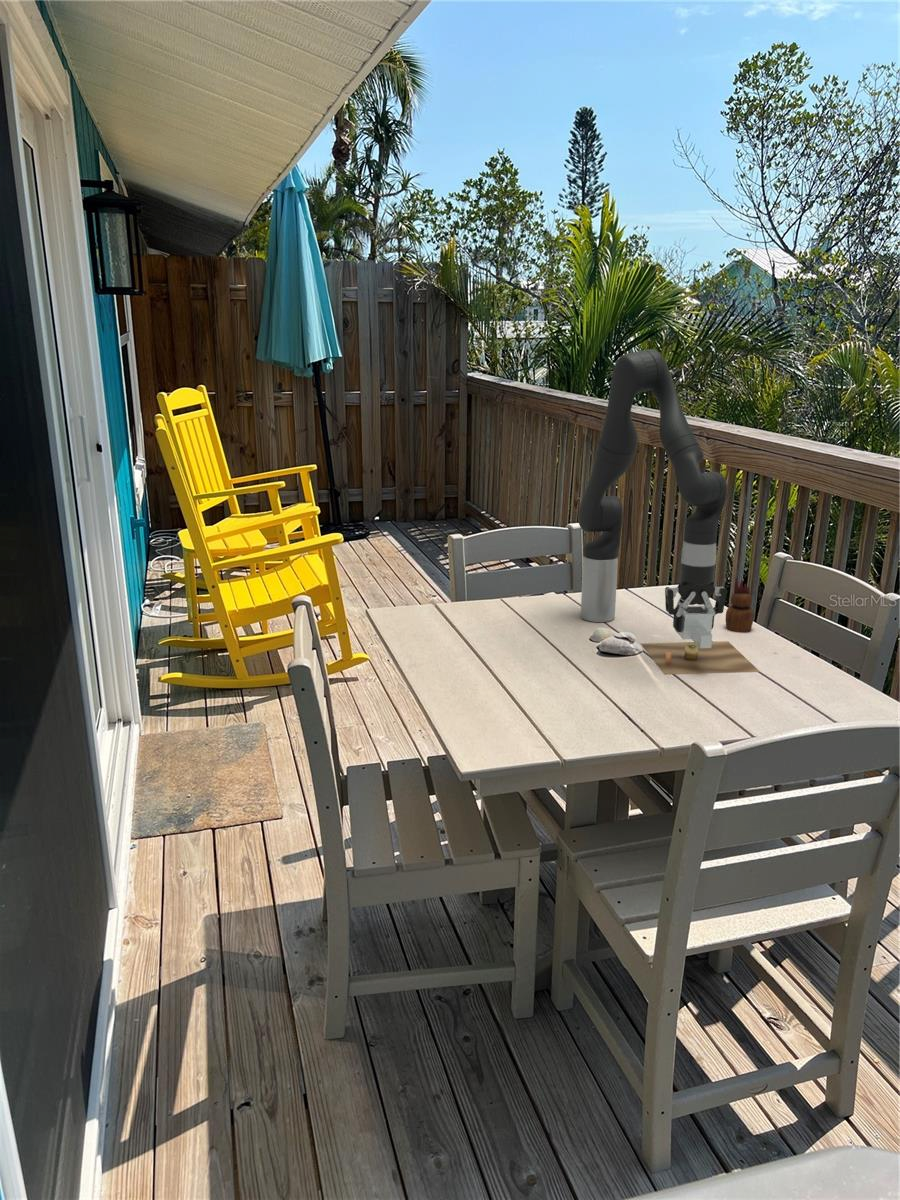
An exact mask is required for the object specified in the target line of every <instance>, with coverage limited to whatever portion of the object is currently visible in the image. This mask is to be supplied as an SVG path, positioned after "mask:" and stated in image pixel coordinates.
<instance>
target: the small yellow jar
mask: <svg viewBox="0 0 900 1200" xmlns="http://www.w3.org/2000/svg"><path fill="white" fill-rule="evenodd" d="M689 642H690V643H686V644H685V655H684V659H685V660H688V661H696V660H697V659H698V646H697V644H696V643H691V642H692V641H689Z"/></svg>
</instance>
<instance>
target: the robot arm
mask: <svg viewBox="0 0 900 1200" xmlns="http://www.w3.org/2000/svg"><path fill="white" fill-rule="evenodd" d="M650 391H651V393H652V394H653V395H654V398H655V399H656V401H657V403H658V407H659V438H660V442H661V445H662V447H663V448H664V451H665V453H666V455H667V456H668V458H669V461H670V463H671V464H672V465H673V469H674V474H675V480H676V483H677V488H678V491H679V493H680V495H681V498H682V499H683V500H684V501H685V502H686V503H687V504H688V505H690V506H692V507H696V508H695V511H694V512H693V513H692V514H690V515H689V516H688V517H687V518H686V520H685V523H684V531H683V532H684V534H683V535H684V536H683V544H682V549H681V559H680V573H679V583H678V585H677V586H676V587H670V586H665V589H664V594H665V595H664V596H665V599H664V600H665V611H666V612H667V613H668V614H669V615H671V616H673V619H672V620H673V622H672V626H673V629H674V631H675V630H676V631H677V632H681V622H682V617H681V615H682V612H684V610H685V609H687V607H688V606H696V605H697V606H704V607H705V608H706V609H707V610H708V611H710V612H711V613H712V614H713V619H712V630H713V628H714V625H715V623H714V622H715V616H716V615H718V614H723V613H724V609H725V605H726V599H727V594H728V590H727V588H726V587H724V586H723V585H719V586H715V584H714V583H715V574H716V573H715V572H716V563H717V535H718V525H719V521H720V519H721V517H722V513H723V511H724V508H725V505H726V504H725V503H726V500H727V496H728V485H727V480H726V479H725V477H724V475H723V474H721V473H720V472H717V471H707V472H702V471H701V469H700V466H699V465H700V464H701V463H702V462H703V460H704V456H705V454H704V451H703V449H702V447H701V445H700V443H699V442H698V440H697V437H696V436H695V434H694V432H693V430H692V429H691V427H690V425H689V422H688V420H687V417H686V416H685V413H684V411H683V407H682V405H681V402H680V399H679V398H680V397H679V395H678V392H677V389H676V387H675V384H674V379H673V377H672V375H671V372H670V369H669V367H668V364H667V362H666V360H665V358H664V356H663V354H661V352H660V351H658V350H656V349H652V348H651V349H650V348H649V349H643V350H638V351H633V352H628V353H624V354H623V355H621V356H619V358H617V360H616V361H615V363H614V367H613V371H612V375H611V382H610V389H609V396H608V403H607V408H606V412H605V417H604V420H603V421H604V422H603V425H602V430H601V433H600V436H599V439H598V443H597V447H596V452H595V456H594V462H593V465H592V468H591V472H590V476H589V479H588V481H587V485H586V486H585V489H584V493H583V496H582V499H581V501H580V505H579V509H578V516H577V517H578V518H577V519H578V525H579V527H580V528H581V530H582V531H584V532H589V533H597V532H602V533H601V534H600V535H599V537H597V538H595V539H593V540H591V541H589V542H587V543H585V545H584V546H583V550H582V551H583V555H582V574H581V575H582V578H581V579H582V580H581V597H580V601H581V602H580V618H581V619H582V620H584V621H587V622H593V623H607V622H611V621H613V620H615V618H616V601H617V600H616V599H617V586H618V583H617V582H618V569H619V568H618V565H619V551H620V548H621V538H622V537H621V536H622V530H623V529H622V528H623V519H624V508H623V503H622V500H621V499H620V498H619V497H618V496H616V495H605V493H606V492H607V490H609V488H610V487H611V486H612V485H613V484H615V483H616V482H617V481H618V480H619V479H620V478H621V477H622V476H623V475H624V474H625V473H626V472H627V471H628V470H629V468H630V467H631V465H632V463H633V460H634V457H635V454H636V450H637V448H638V442H639V436H638V431H637V429H636V427H635V426H636V425H635V424H634V421H633V419H632V416H631V412H632V407H633V403H634V400H635V397H636V396H637V394H641V393H645V392H650ZM677 594H679V596H680V597H679V599H678V601H677V604H676V606H675V604H674V603H675V602H674V601H675V600H674V599H675V598H676V596H677ZM713 594H714V595H715V596H716V598H715V602H714V606H713V604H712V602H711V600H710V598H711V597H712V595H713ZM676 631H675V632H676ZM677 632H676V633H677Z"/></svg>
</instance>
